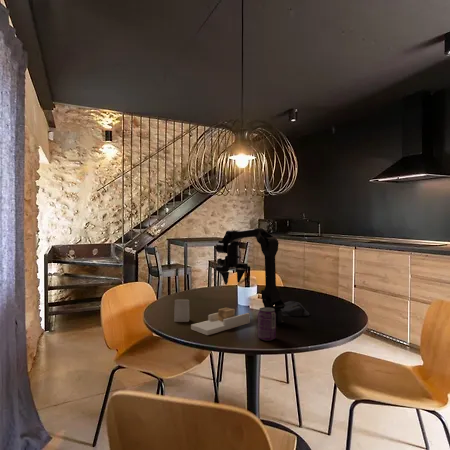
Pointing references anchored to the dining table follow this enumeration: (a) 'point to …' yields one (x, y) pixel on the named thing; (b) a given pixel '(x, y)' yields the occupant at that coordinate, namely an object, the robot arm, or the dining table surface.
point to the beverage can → (267, 324)
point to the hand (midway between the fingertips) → (232, 283)
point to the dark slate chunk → (294, 309)
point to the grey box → (181, 311)
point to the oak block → (225, 313)
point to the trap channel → (220, 323)
